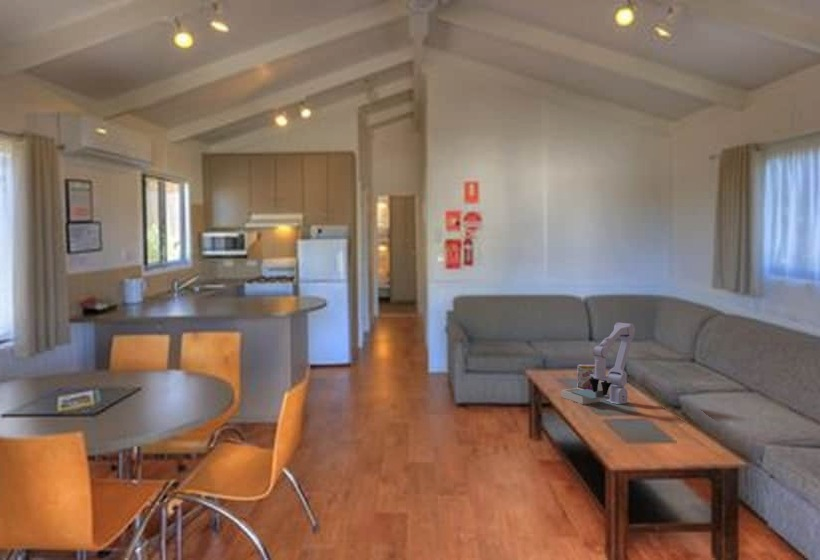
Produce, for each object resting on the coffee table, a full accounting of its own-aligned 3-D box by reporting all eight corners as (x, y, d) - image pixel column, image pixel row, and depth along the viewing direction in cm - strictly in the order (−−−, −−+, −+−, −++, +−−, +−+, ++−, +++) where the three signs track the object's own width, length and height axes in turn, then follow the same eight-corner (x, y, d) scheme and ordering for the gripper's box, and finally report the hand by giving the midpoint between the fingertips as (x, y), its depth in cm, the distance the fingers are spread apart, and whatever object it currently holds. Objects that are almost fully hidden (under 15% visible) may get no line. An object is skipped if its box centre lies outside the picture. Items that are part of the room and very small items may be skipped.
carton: (599, 402, 378) (599, 394, 377) (582, 404, 372) (582, 396, 372) (578, 395, 394) (578, 387, 393) (561, 397, 389) (561, 390, 388)
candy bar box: (578, 393, 398) (578, 365, 397) (576, 391, 403) (577, 364, 402) (597, 394, 397) (598, 366, 396) (596, 392, 402) (596, 364, 401)
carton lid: (609, 396, 370) (609, 390, 370) (592, 399, 365) (592, 392, 365) (587, 390, 386) (587, 383, 386) (570, 392, 381) (570, 386, 381)
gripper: (585, 366, 372) (585, 391, 373) (603, 371, 359) (603, 397, 360) (595, 365, 375) (595, 390, 376) (614, 370, 362) (613, 395, 363)
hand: (600, 393), depth 368 cm, fingers open, 7 cm apart
